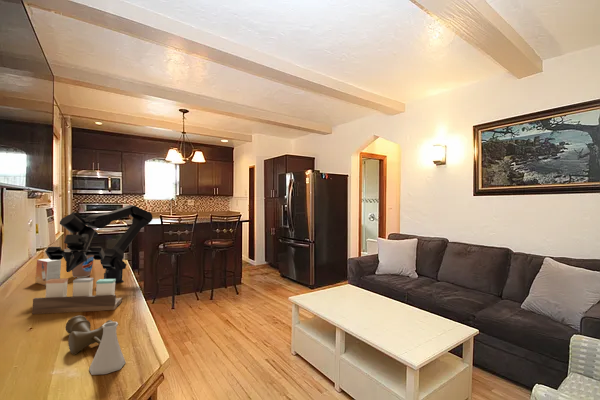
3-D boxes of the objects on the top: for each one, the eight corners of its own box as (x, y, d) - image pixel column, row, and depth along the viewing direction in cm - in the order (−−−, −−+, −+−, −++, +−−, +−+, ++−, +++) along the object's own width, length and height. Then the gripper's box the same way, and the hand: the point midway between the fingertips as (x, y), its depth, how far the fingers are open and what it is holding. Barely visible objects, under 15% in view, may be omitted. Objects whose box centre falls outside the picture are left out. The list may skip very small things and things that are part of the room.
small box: (34, 283, 129) (36, 259, 129) (49, 280, 134) (51, 257, 134) (45, 285, 126) (47, 261, 126) (60, 282, 131) (61, 259, 131)
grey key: (75, 300, 105) (77, 278, 105) (92, 299, 106) (93, 277, 106) (71, 303, 102) (73, 280, 102) (88, 302, 103) (89, 280, 103)
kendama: (94, 328, 88) (122, 348, 76) (54, 340, 80) (78, 364, 69) (94, 309, 88) (123, 325, 76) (54, 318, 81) (79, 338, 69)
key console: (46, 305, 104) (47, 291, 104) (121, 301, 110) (122, 288, 110) (32, 314, 95) (33, 298, 95) (114, 309, 102) (114, 295, 102)
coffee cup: (83, 279, 139) (85, 254, 139) (62, 278, 139) (64, 253, 139) (98, 274, 149) (100, 250, 149) (79, 273, 149) (80, 250, 149)
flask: (85, 379, 63) (88, 333, 63) (91, 362, 69) (94, 320, 69) (124, 371, 66) (126, 327, 66) (126, 356, 72) (129, 316, 73)
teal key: (98, 301, 105) (99, 279, 105) (114, 300, 106) (115, 278, 107) (94, 304, 102) (96, 281, 102) (111, 303, 103) (112, 281, 103)
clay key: (49, 301, 103) (51, 278, 103) (66, 300, 104) (68, 278, 104) (44, 304, 100) (45, 281, 100) (62, 303, 101) (63, 280, 101)
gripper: (49, 226, 113) (29, 259, 102) (103, 227, 118) (90, 259, 107) (59, 243, 120) (41, 276, 109) (109, 243, 125) (97, 275, 114)
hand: (67, 271), depth 110 cm, fingers closed
